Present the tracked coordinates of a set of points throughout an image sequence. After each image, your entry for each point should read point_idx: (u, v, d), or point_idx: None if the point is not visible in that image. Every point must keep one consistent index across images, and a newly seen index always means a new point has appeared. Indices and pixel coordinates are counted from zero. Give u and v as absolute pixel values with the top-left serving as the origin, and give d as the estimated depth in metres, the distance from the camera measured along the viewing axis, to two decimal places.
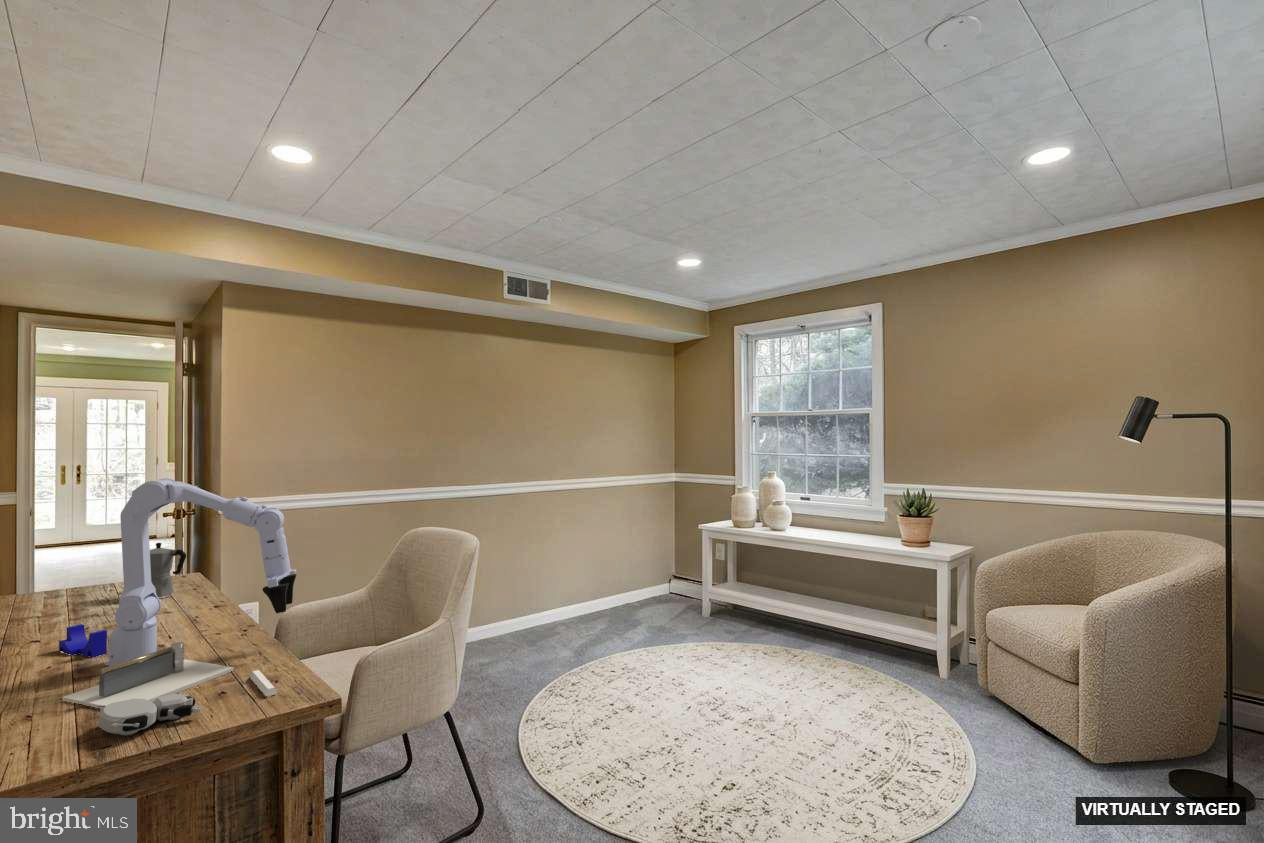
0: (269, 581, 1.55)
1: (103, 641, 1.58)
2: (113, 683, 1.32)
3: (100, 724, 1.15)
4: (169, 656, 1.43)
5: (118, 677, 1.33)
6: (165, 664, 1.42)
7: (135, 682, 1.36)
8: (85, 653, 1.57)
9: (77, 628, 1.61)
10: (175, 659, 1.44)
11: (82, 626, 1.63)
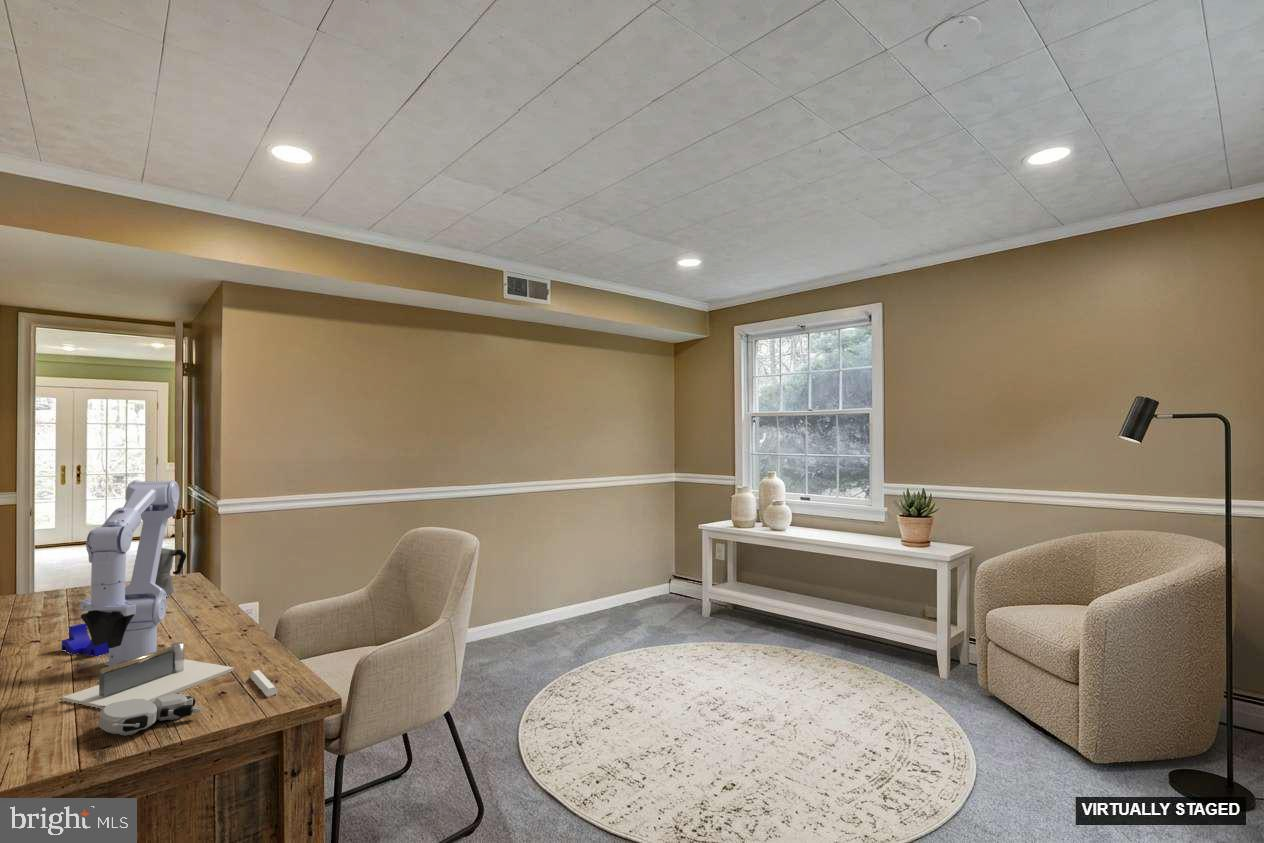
0: None
1: None
2: (113, 683, 1.32)
3: (100, 724, 1.15)
4: (169, 656, 1.43)
5: (118, 677, 1.33)
6: (165, 664, 1.42)
7: (135, 682, 1.36)
8: (88, 652, 1.58)
9: (79, 628, 1.62)
10: (175, 659, 1.44)
11: (84, 625, 1.63)
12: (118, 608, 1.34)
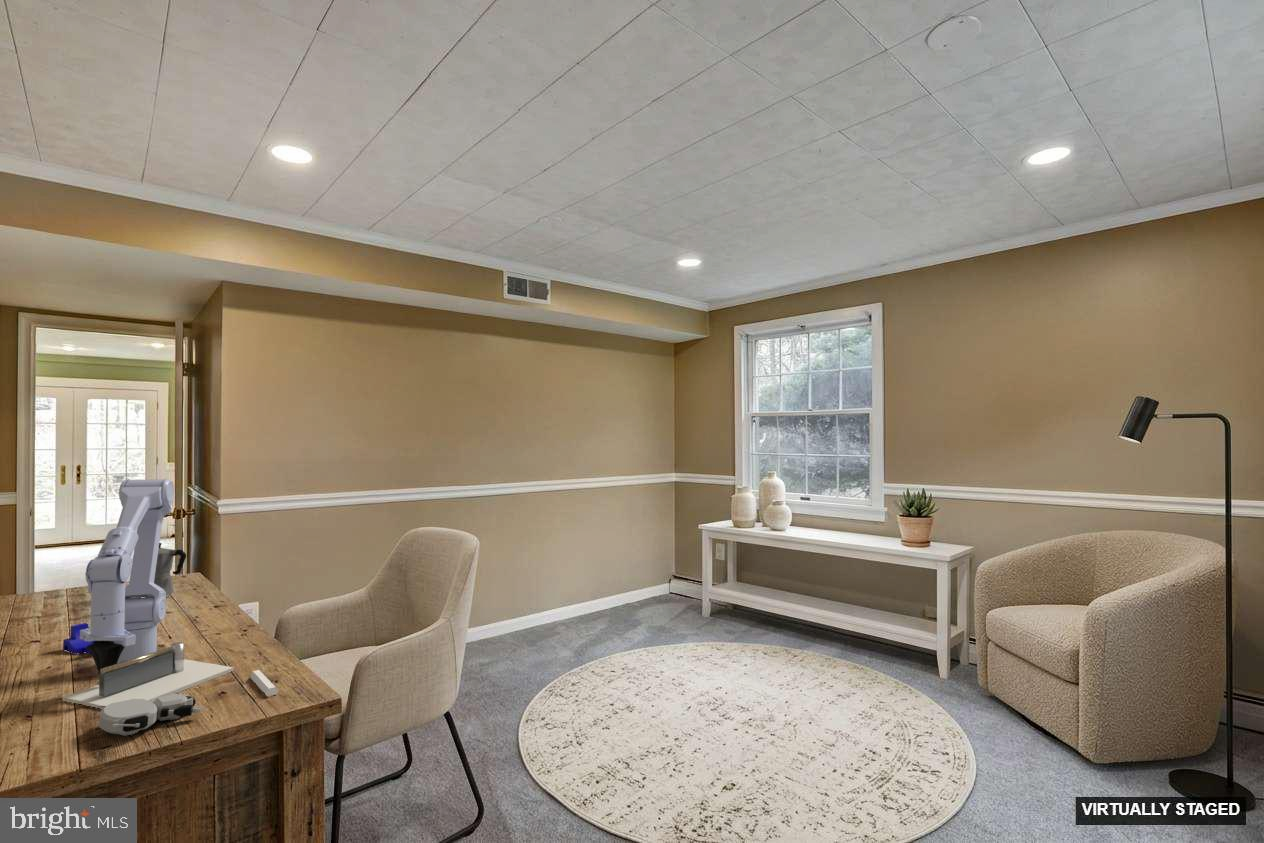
0: None
1: None
2: (113, 683, 1.32)
3: (100, 724, 1.15)
4: (169, 656, 1.43)
5: (118, 677, 1.33)
6: (165, 664, 1.42)
7: (135, 682, 1.36)
8: None
9: (81, 627, 1.62)
10: (175, 659, 1.44)
11: (86, 625, 1.63)
12: (117, 638, 1.34)
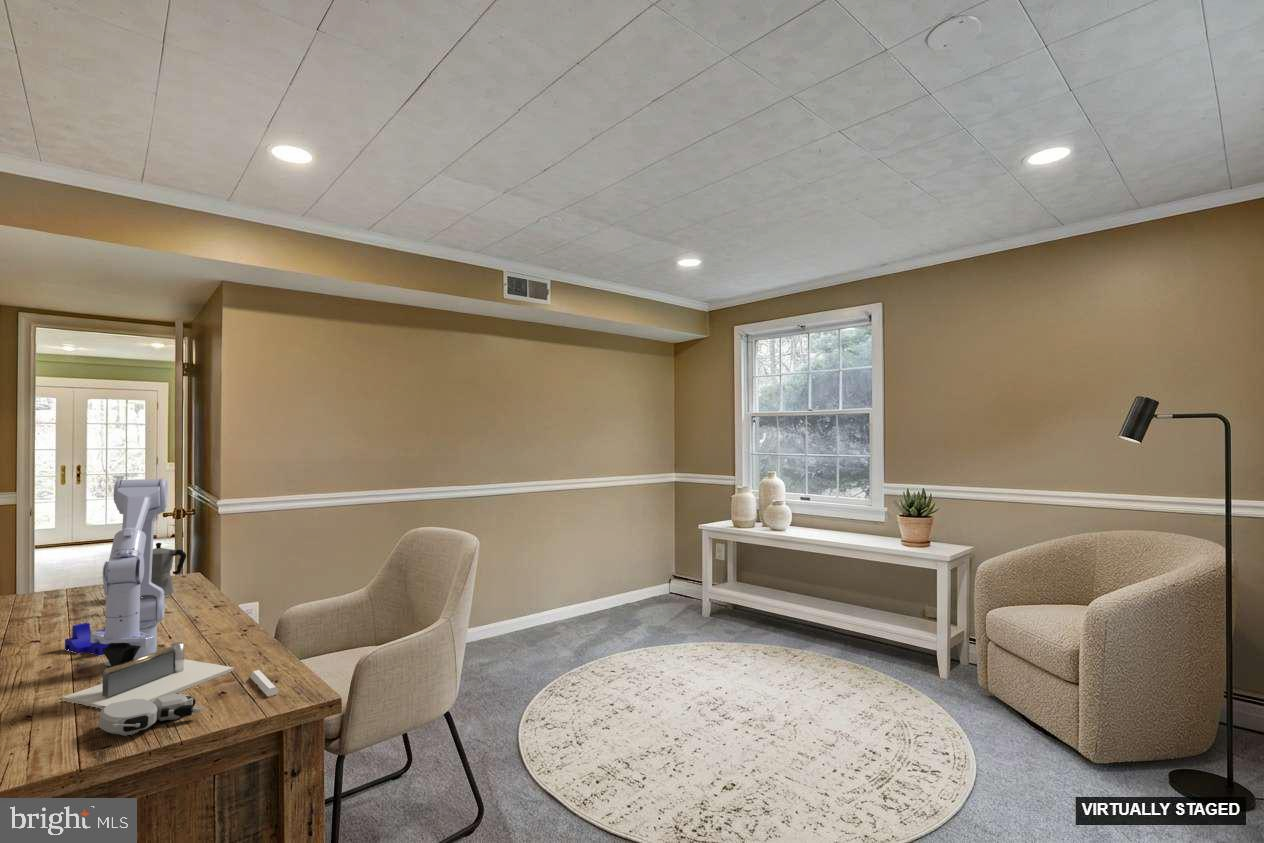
0: None
1: None
2: (116, 683, 1.32)
3: (100, 724, 1.15)
4: (169, 656, 1.43)
5: (121, 677, 1.33)
6: (166, 664, 1.42)
7: (137, 683, 1.36)
8: (92, 651, 1.58)
9: (83, 627, 1.63)
10: (175, 659, 1.44)
11: (88, 624, 1.64)
12: (136, 640, 1.33)
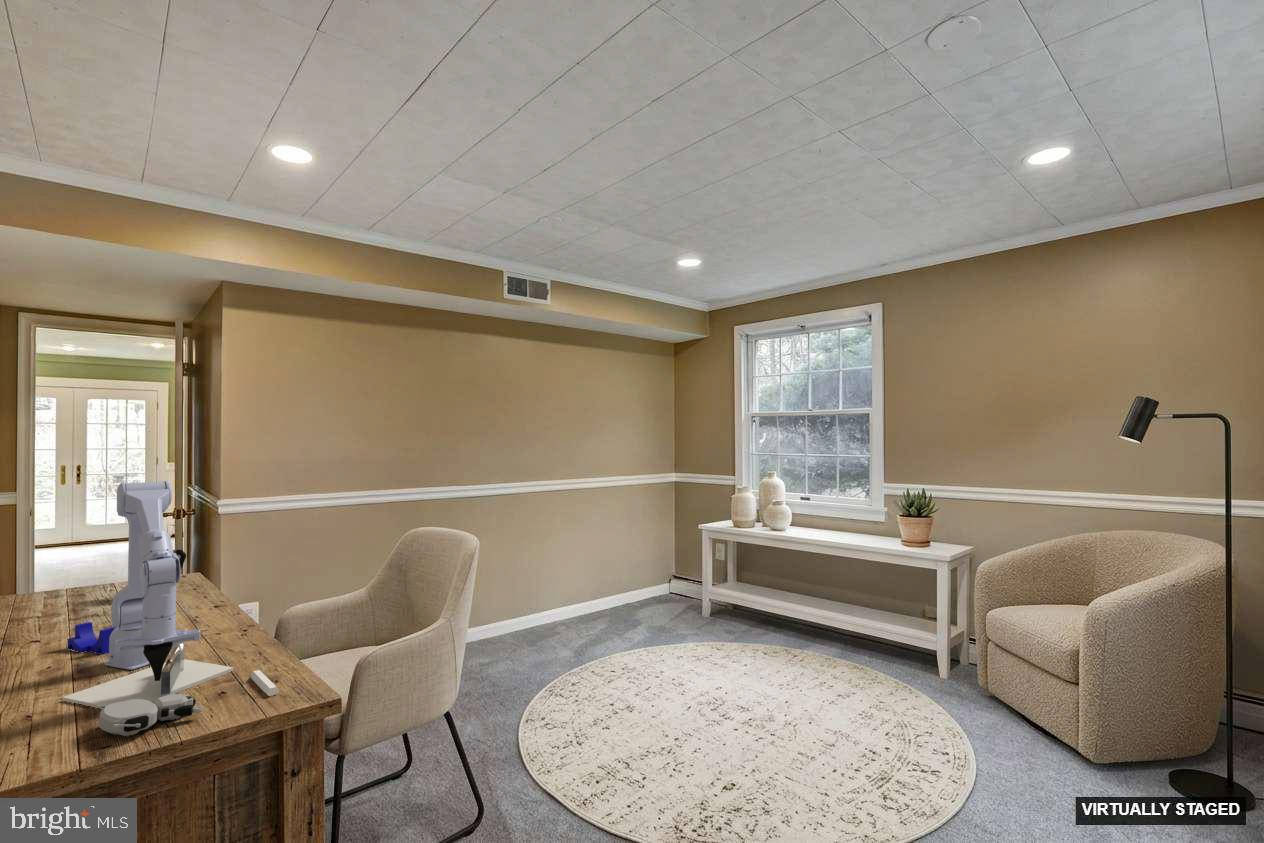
0: None
1: None
2: (171, 680, 1.33)
3: (101, 725, 1.15)
4: (179, 655, 1.43)
5: (172, 675, 1.34)
6: (179, 663, 1.43)
7: (174, 680, 1.37)
8: (95, 650, 1.59)
9: (85, 626, 1.63)
10: None
11: (90, 624, 1.64)
12: (188, 635, 1.37)
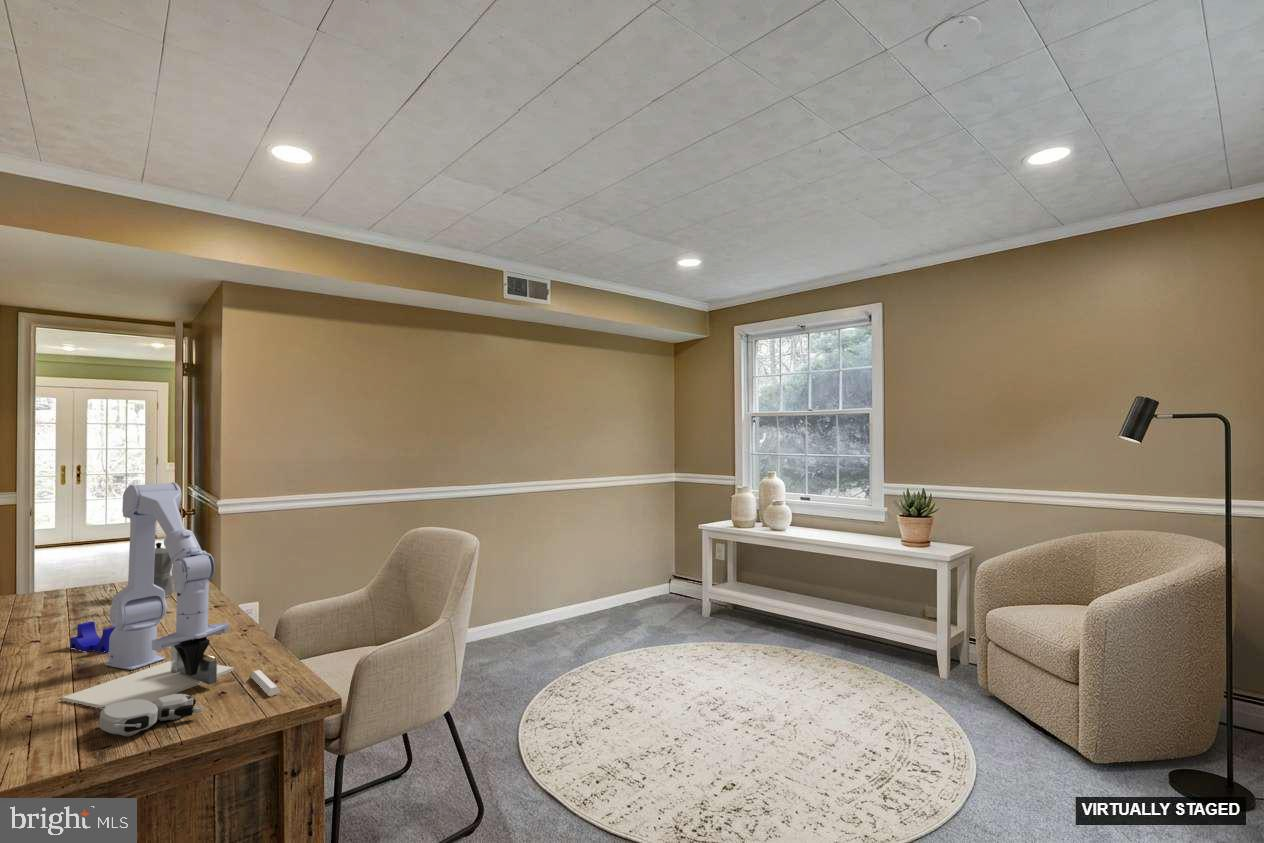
0: (152, 642, 1.32)
1: None
2: None
3: (101, 725, 1.15)
4: None
5: None
6: None
7: None
8: (98, 649, 1.60)
9: (88, 625, 1.64)
10: (175, 659, 1.44)
11: (93, 623, 1.65)
12: (221, 627, 1.42)
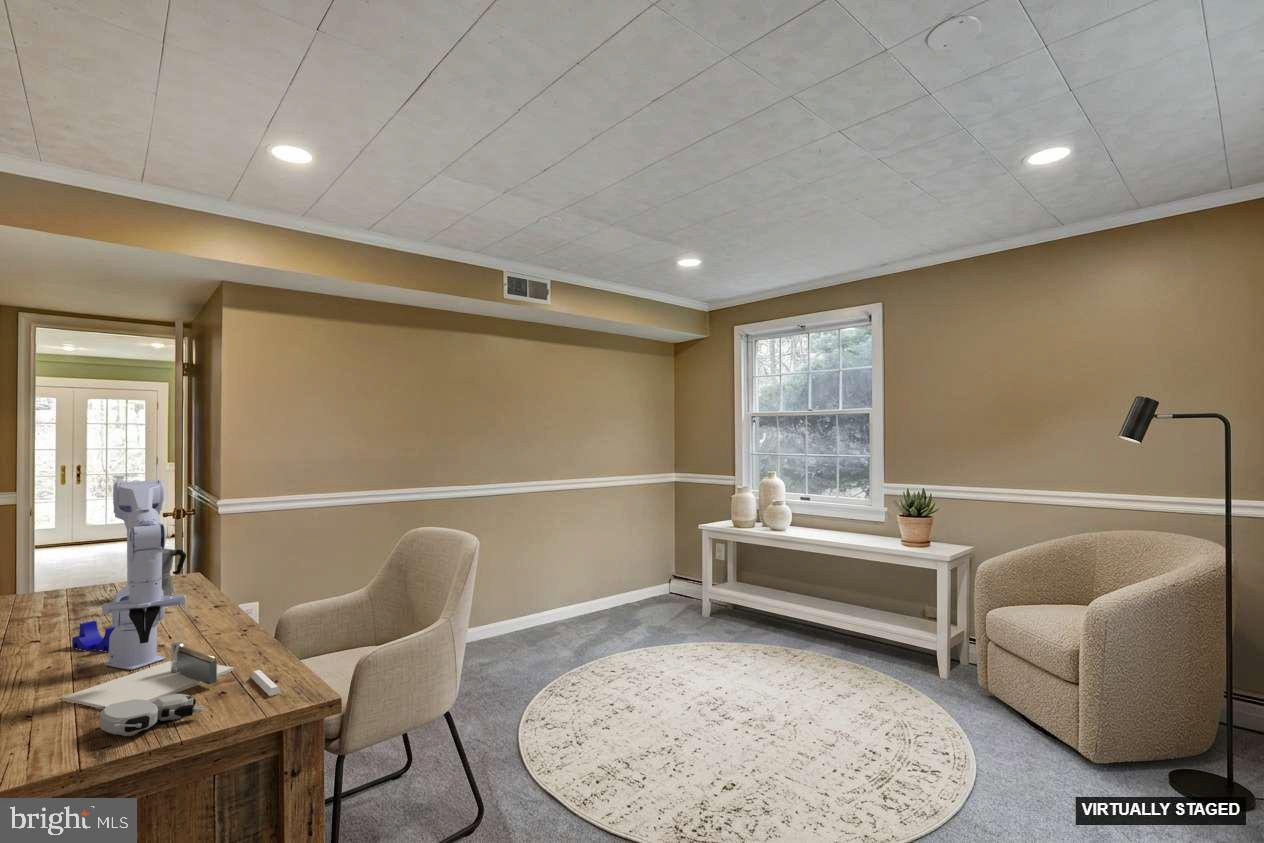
0: None
1: None
2: None
3: (101, 725, 1.15)
4: None
5: None
6: None
7: None
8: (101, 648, 1.60)
9: (90, 625, 1.65)
10: (175, 659, 1.44)
11: (95, 622, 1.66)
12: (174, 599, 1.42)
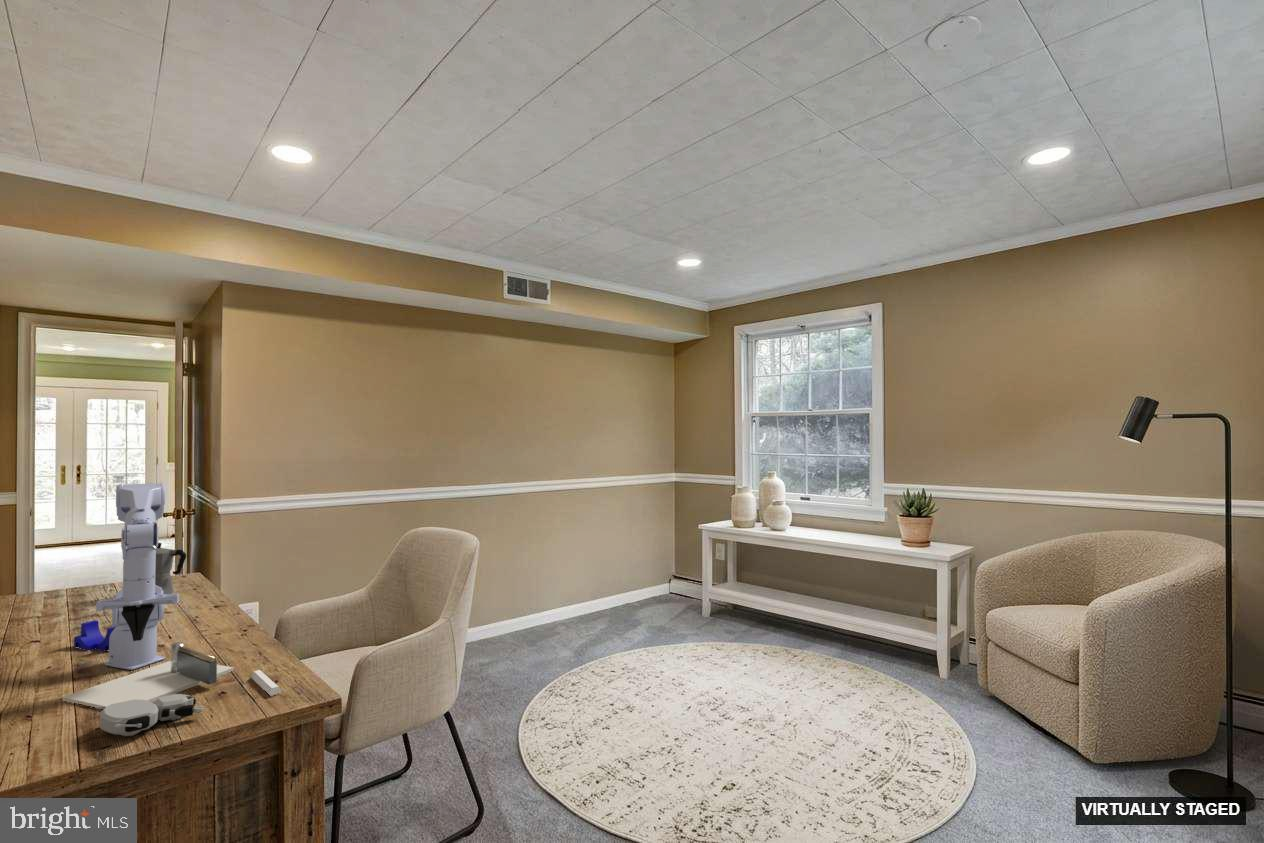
0: None
1: None
2: None
3: (101, 725, 1.15)
4: None
5: None
6: None
7: None
8: (102, 648, 1.61)
9: (91, 624, 1.65)
10: (175, 659, 1.44)
11: (96, 622, 1.66)
12: (166, 598, 1.42)
